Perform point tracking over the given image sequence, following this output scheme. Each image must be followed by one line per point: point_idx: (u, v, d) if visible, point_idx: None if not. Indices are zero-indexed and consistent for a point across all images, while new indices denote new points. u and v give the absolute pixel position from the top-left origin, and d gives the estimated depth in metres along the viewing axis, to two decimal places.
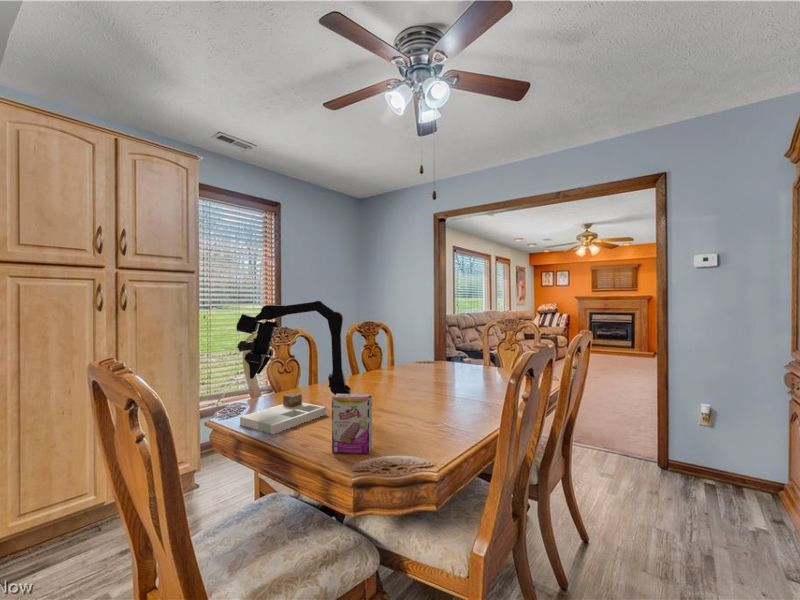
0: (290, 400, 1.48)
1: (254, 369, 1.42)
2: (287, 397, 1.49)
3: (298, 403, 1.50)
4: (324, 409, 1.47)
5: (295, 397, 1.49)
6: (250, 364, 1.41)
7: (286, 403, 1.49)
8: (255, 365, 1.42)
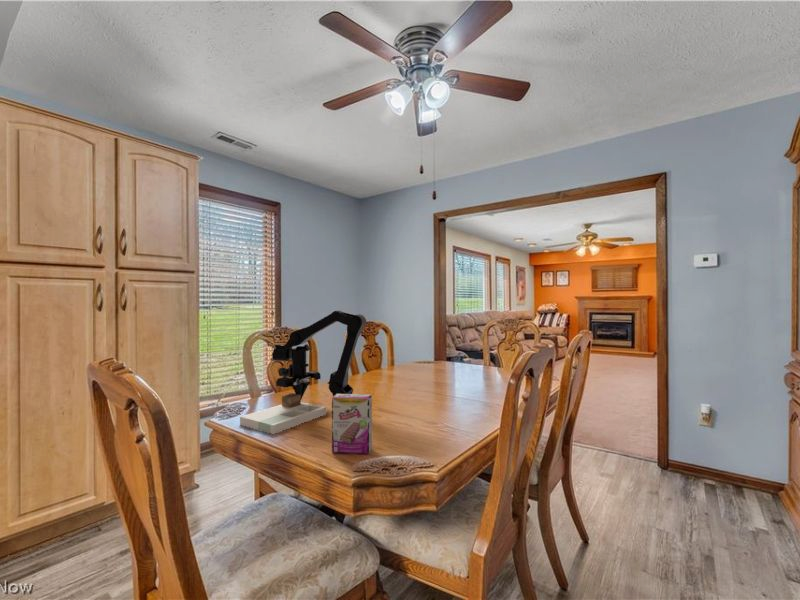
0: (289, 400, 1.48)
1: (297, 391, 1.53)
2: (286, 397, 1.49)
3: (297, 403, 1.50)
4: (324, 409, 1.47)
5: (294, 397, 1.49)
6: (293, 387, 1.53)
7: (285, 403, 1.49)
8: (297, 387, 1.53)
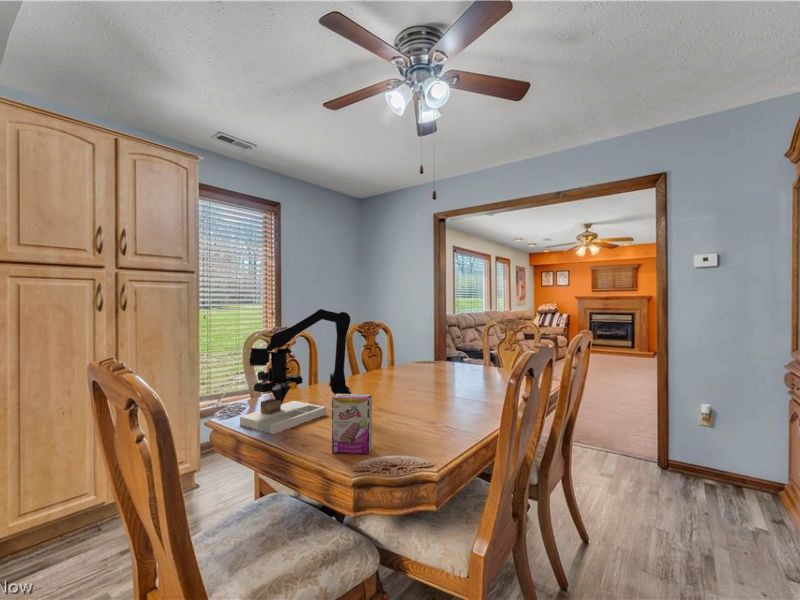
0: (268, 407, 1.39)
1: (277, 396, 1.44)
2: (265, 403, 1.40)
3: (276, 410, 1.42)
4: (324, 409, 1.47)
5: (273, 403, 1.40)
6: (273, 392, 1.45)
7: (263, 410, 1.41)
8: (277, 392, 1.44)
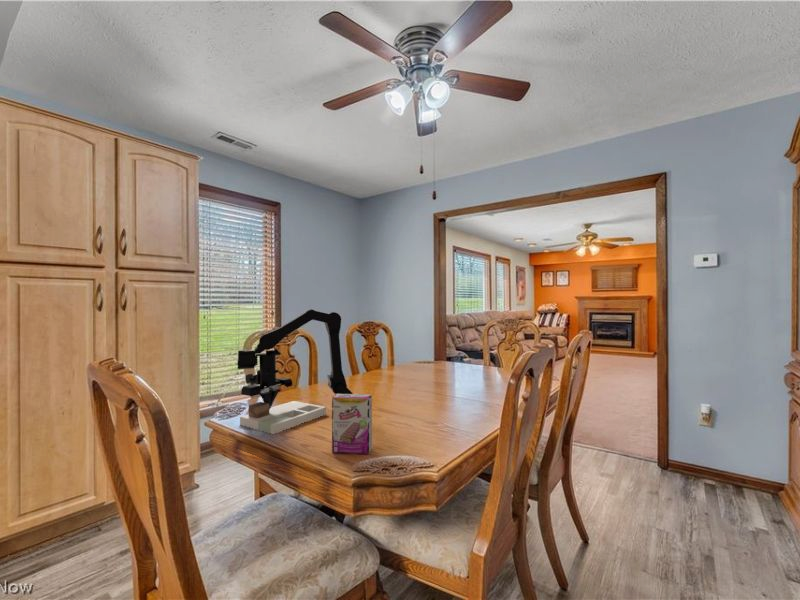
0: (255, 410, 1.35)
1: (266, 400, 1.40)
2: (252, 407, 1.36)
3: (265, 413, 1.37)
4: (324, 409, 1.47)
5: (261, 407, 1.36)
6: (261, 395, 1.40)
7: (251, 413, 1.36)
8: (266, 396, 1.40)
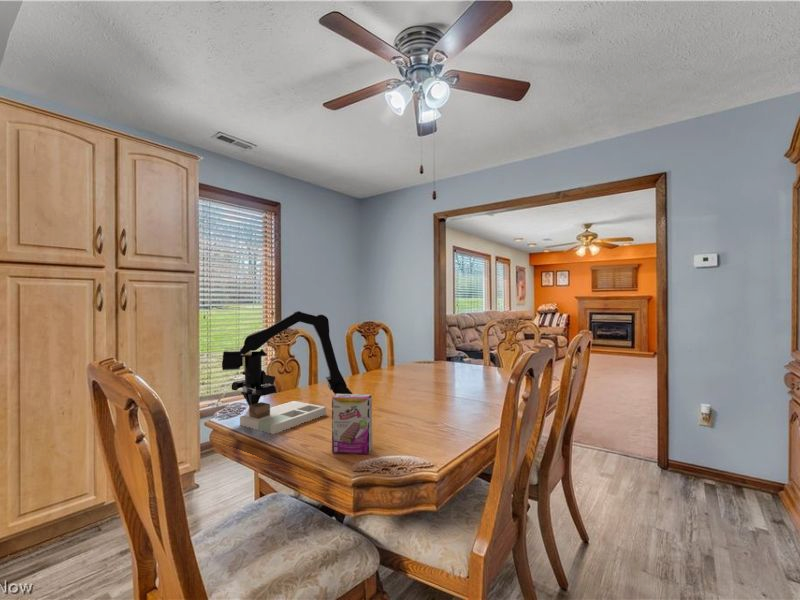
0: (256, 411, 1.34)
1: None
2: (253, 407, 1.35)
3: (266, 414, 1.37)
4: (324, 409, 1.47)
5: (262, 407, 1.35)
6: None
7: (252, 414, 1.36)
8: None
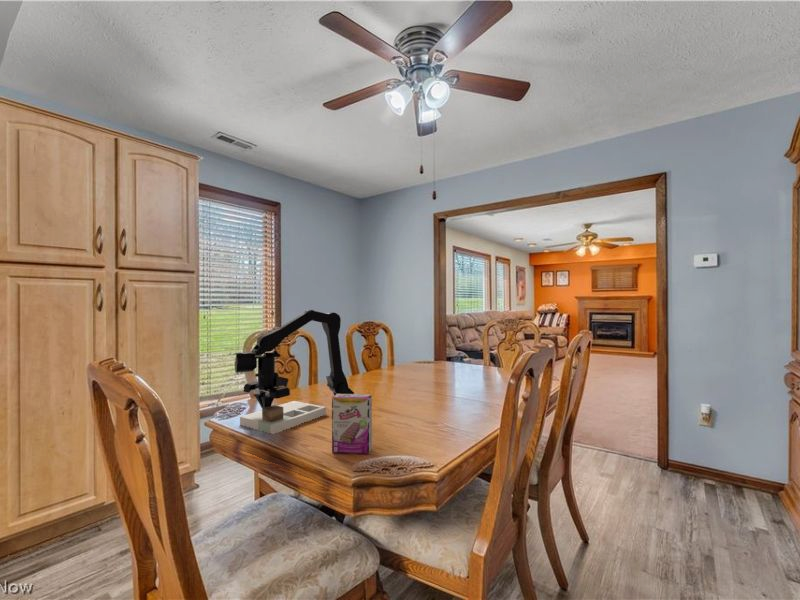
0: (269, 414, 1.30)
1: None
2: (266, 410, 1.31)
3: (279, 417, 1.33)
4: (324, 409, 1.47)
5: (275, 410, 1.31)
6: None
7: (265, 417, 1.32)
8: None
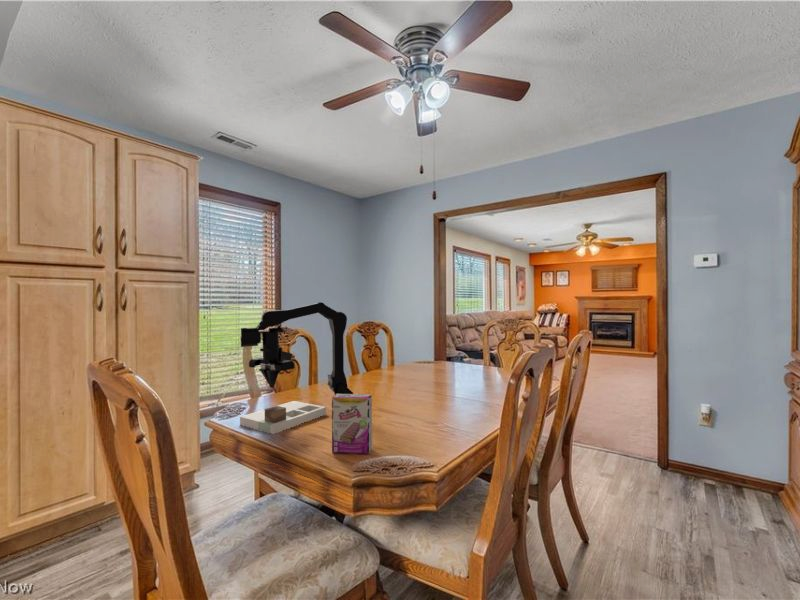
0: (272, 415, 1.29)
1: None
2: (269, 411, 1.30)
3: (282, 418, 1.32)
4: (324, 409, 1.47)
5: (278, 411, 1.31)
6: None
7: (268, 418, 1.31)
8: None
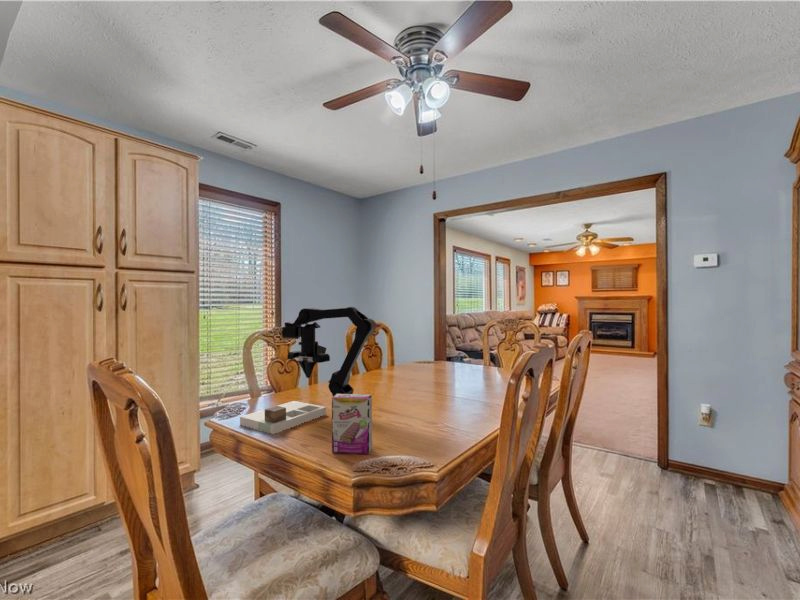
0: (272, 415, 1.29)
1: None
2: (269, 411, 1.30)
3: (282, 418, 1.32)
4: (324, 409, 1.47)
5: (278, 411, 1.31)
6: None
7: (268, 418, 1.31)
8: None
